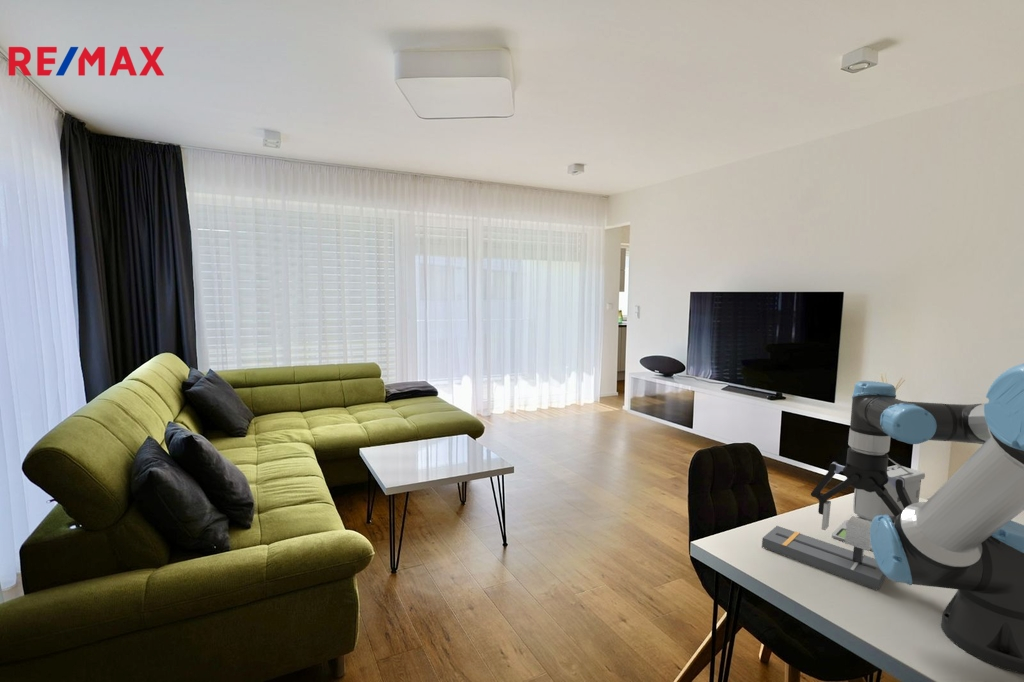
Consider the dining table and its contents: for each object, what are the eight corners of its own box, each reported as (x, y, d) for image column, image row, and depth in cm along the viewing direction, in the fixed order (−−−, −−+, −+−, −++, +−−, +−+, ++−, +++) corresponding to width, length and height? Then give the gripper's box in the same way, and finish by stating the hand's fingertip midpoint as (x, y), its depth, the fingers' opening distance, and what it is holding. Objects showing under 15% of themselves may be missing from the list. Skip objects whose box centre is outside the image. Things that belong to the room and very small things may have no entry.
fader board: (887, 573, 113) (888, 562, 113) (878, 590, 106) (879, 579, 106) (776, 534, 130) (776, 525, 130) (761, 547, 123) (762, 537, 123)
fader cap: (871, 561, 113) (875, 522, 112) (866, 568, 109) (870, 529, 109) (848, 553, 116) (852, 516, 115) (843, 560, 113) (846, 522, 112)
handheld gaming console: (890, 530, 132) (876, 548, 122) (890, 536, 132) (876, 554, 122) (847, 517, 139) (830, 533, 129) (846, 522, 140) (830, 539, 130)
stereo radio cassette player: (891, 504, 152) (897, 441, 150) (922, 515, 145) (929, 449, 143) (850, 515, 143) (856, 449, 141) (881, 528, 136) (888, 458, 134)
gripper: (943, 461, 104) (931, 555, 106) (811, 433, 122) (803, 515, 124) (938, 469, 99) (926, 568, 101) (801, 439, 117) (793, 524, 119)
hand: (858, 539), depth 113 cm, fingers open, 13 cm apart
